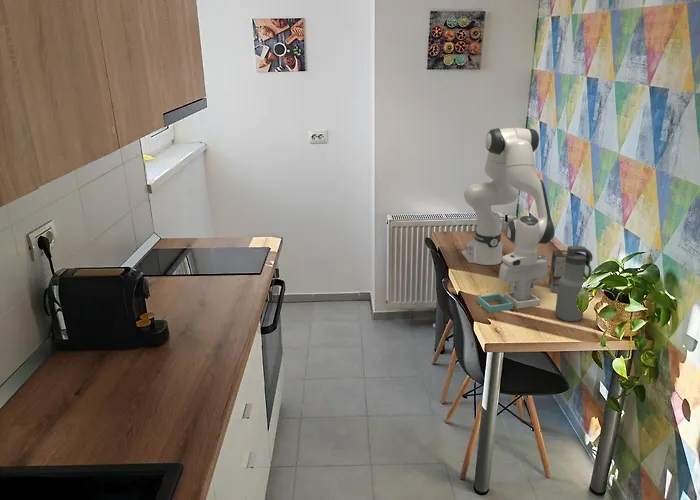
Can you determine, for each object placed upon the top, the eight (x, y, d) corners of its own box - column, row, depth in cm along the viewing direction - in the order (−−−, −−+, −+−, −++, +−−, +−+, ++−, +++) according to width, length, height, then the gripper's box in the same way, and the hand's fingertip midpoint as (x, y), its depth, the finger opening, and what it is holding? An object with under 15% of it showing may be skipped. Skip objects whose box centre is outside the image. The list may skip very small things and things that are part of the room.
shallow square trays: (476, 302, 220) (477, 296, 219) (525, 295, 225) (525, 289, 224) (489, 312, 211) (489, 306, 210) (539, 305, 216) (540, 299, 215)
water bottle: (577, 310, 211) (586, 243, 202) (587, 322, 202) (597, 251, 192) (551, 310, 211) (559, 243, 202) (560, 322, 202) (568, 252, 192)
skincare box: (520, 295, 223) (522, 269, 219) (529, 298, 220) (532, 271, 216) (512, 300, 219) (515, 273, 215) (522, 303, 216) (524, 276, 212)
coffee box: (567, 293, 226) (572, 257, 221) (551, 292, 228) (555, 256, 222) (563, 284, 235) (568, 250, 229) (548, 284, 236) (552, 249, 231)
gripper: (543, 251, 218) (540, 283, 223) (498, 257, 214) (495, 289, 218) (553, 257, 213) (549, 289, 217) (506, 262, 208) (504, 295, 213)
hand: (522, 289), depth 218 cm, fingers closed on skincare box, 7 cm apart
